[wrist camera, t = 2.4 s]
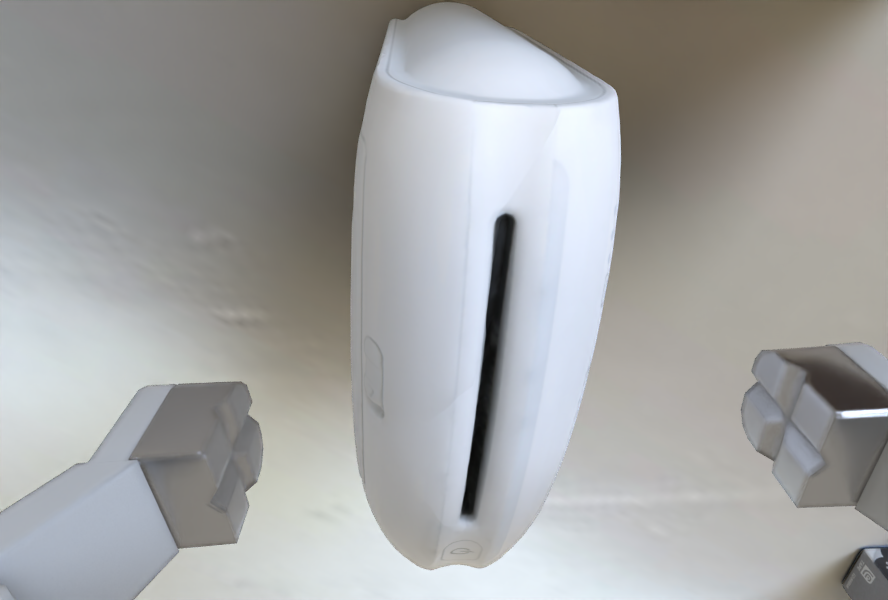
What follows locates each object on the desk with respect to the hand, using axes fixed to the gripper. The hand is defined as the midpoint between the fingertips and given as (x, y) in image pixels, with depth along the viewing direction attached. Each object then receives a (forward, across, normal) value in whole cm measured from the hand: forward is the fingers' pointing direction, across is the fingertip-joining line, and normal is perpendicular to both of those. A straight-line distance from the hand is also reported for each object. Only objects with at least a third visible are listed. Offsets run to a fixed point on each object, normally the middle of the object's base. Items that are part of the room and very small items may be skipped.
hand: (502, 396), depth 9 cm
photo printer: (+12, +1, 0) cm, 12 cm away
